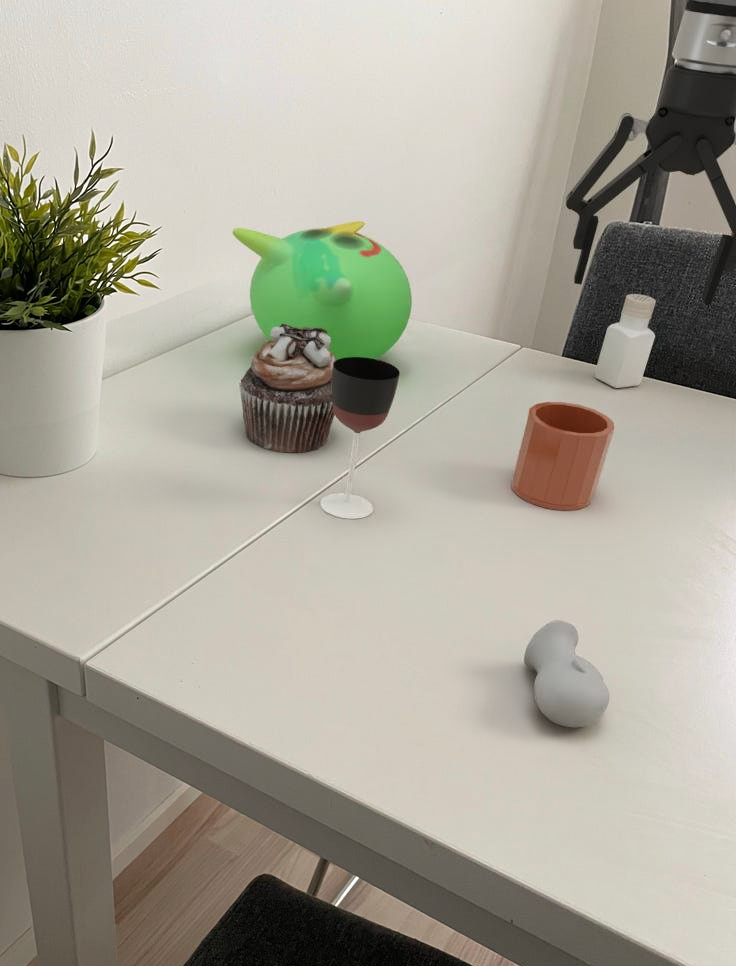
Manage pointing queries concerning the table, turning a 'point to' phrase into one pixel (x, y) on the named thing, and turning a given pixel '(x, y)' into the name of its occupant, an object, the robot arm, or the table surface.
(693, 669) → the table surface
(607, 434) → the flowerpot
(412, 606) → the table surface
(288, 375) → the cupcake
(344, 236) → the toy bird
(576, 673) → the smooth white sculpture
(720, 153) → the robot arm
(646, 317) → the pepper shaker
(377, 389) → the wineglass
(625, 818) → the table surface
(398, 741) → the table surface
